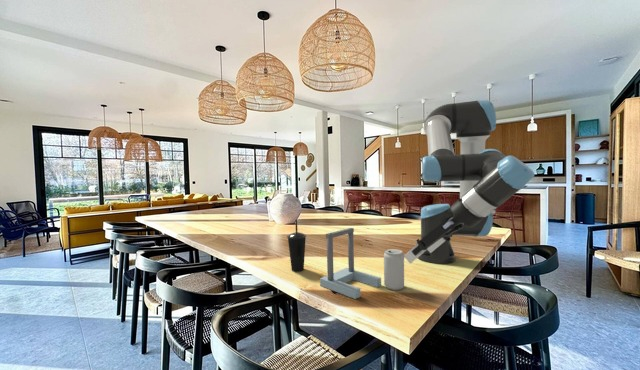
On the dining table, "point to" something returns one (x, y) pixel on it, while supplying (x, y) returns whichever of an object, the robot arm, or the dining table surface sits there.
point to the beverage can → (394, 269)
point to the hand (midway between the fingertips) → (418, 254)
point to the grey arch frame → (345, 275)
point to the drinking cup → (297, 250)
